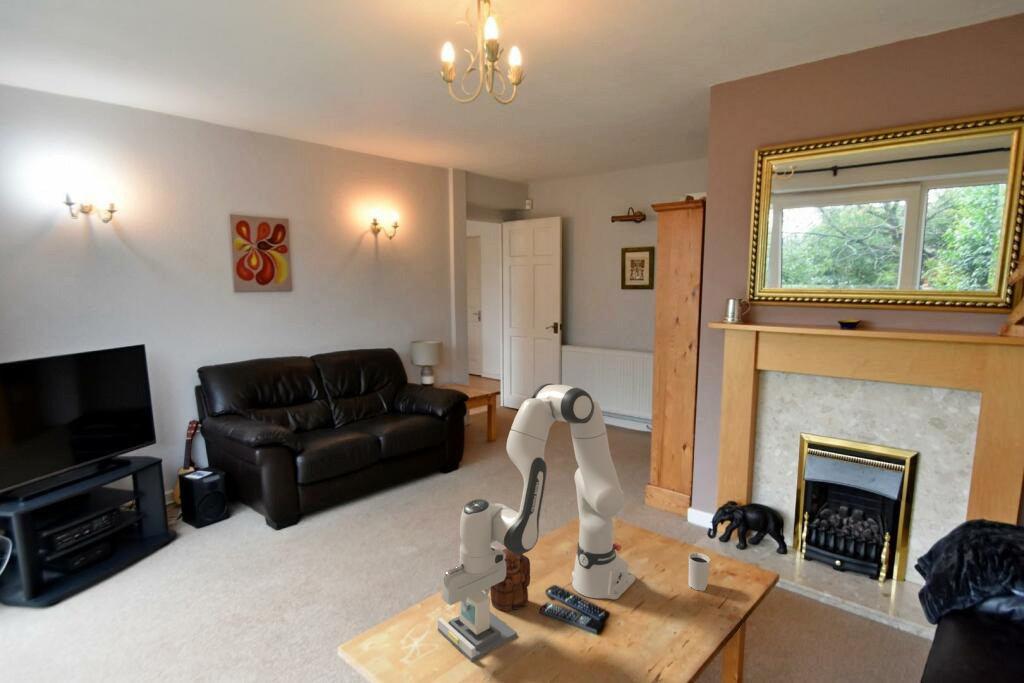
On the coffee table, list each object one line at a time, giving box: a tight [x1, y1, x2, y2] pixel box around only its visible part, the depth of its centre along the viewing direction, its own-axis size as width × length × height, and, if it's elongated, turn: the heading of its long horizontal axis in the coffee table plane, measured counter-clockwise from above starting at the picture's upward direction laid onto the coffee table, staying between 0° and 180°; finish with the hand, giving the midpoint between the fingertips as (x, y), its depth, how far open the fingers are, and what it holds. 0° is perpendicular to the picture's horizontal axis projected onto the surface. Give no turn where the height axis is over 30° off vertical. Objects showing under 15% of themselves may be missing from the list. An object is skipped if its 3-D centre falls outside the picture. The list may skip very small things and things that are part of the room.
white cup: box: [688, 552, 711, 591], centre depth 174 cm, size 7×7×10 cm
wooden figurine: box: [490, 547, 531, 612], centre depth 161 cm, size 12×6×18 cm, turn 110°
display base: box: [437, 611, 518, 662], centre depth 149 cm, size 16×16×4 cm
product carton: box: [459, 591, 491, 635], centre depth 147 cm, size 5×8×9 cm, turn 41°
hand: (474, 605), depth 147 cm, fingers closed on product carton, 5 cm apart
